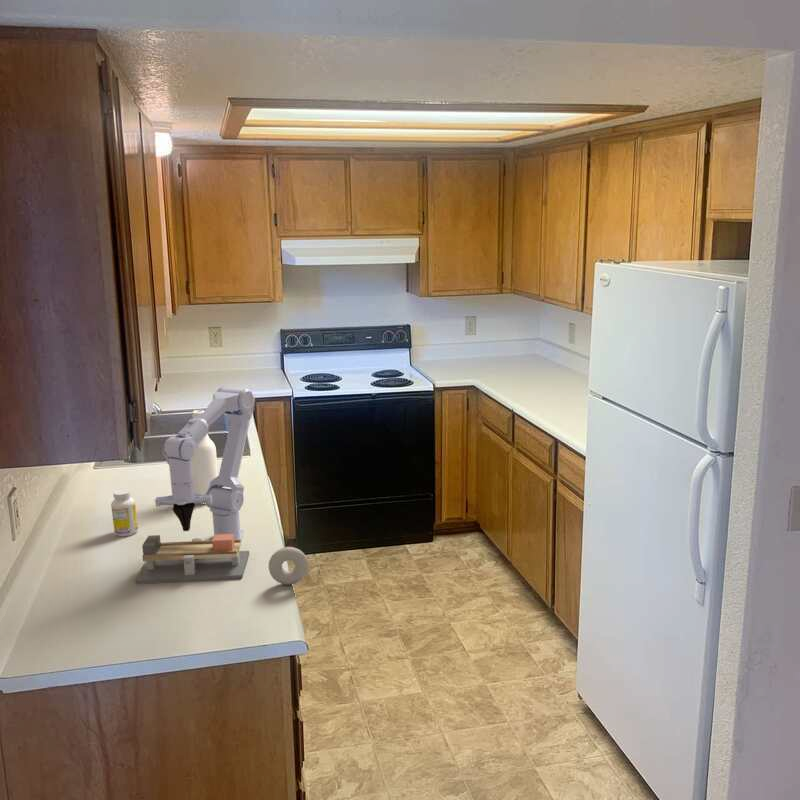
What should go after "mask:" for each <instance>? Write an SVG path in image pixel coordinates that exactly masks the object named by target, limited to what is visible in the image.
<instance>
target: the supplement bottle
mask: <svg viewBox="0 0 800 800" xmlns="http://www.w3.org/2000/svg"><path fill="white" fill-rule="evenodd" d="M112 495H113V498H114V499H113V500H112V502H111V503H110V507H111V513H112V515H111V516H112V521H113V522H112V523H113V529H114V535H116V536H117V537H128V536H132V535H135V534H136V533H137V532H138V530H139V525H138V517H137V510H136V509H137V508H136V501H135V499H134V498H133V497H131V491H130V489H126V488H125V489H124V488H123V489H117V490H115V491H113V493H112Z"/></svg>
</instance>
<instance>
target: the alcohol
mask: <svg viewBox="0 0 800 800" xmlns="http://www.w3.org/2000/svg"><path fill="white" fill-rule="evenodd" d="M204 411H205V410H203V409H197V410H196V409H195V410H193V411H192V412H191V414H192V415H191V416H192V419H193V418H199V417H200V416H201V414H202V413H203V412H204ZM191 460H192V471H193V482H194V493H195V494H203V495H205V494H206V492H207V490H208V488H209V486H210V482H211V481H212V480H213V479H214V478H216V477H217V476H219V472H218V471H219V469H218V459H217V448H216V445H215V443H214V441H213V440H212V439H211V438H210V437H209V433H208V434H207V435H206V436H205V437H204V438H203V439H202V440H201V441H200V442H199V443H198V446H197V448H196V450H195V454H194V456H193V457H192V458H191Z"/></svg>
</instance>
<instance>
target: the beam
mask: <svg viewBox="0 0 800 800" xmlns="http://www.w3.org/2000/svg"><path fill="white" fill-rule="evenodd" d="M141 546H142V562H146V561H159V560H182V559H183V558H184V556H185V555H194V559H204V558H227V557H237V555H238V552H239V551H240V549H241V546H242V539H235V540H234V547H233V550H232V551H213V545H212V540H202V541H192V540H191V541H189V540H188V541H169V542H161V534H160V535H159V534H158V535H155V534H154V535H152V534H151V535H148V536H147V537H146V539H145V540H144V542H143V544H142V545H141Z"/></svg>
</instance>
